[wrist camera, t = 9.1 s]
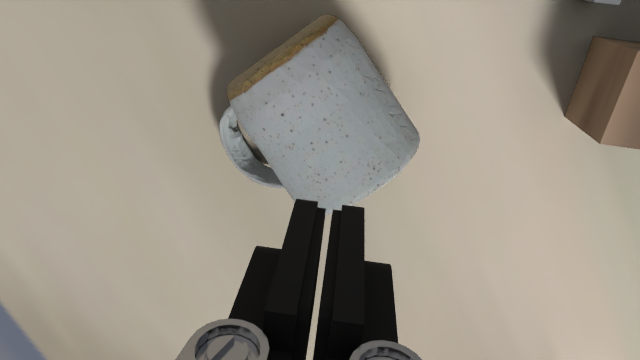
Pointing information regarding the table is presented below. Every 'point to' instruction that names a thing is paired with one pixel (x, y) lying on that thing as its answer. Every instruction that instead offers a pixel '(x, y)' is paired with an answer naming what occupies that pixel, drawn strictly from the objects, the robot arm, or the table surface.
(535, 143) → the table surface
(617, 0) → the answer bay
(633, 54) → the walnut block
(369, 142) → the ceramic mug
